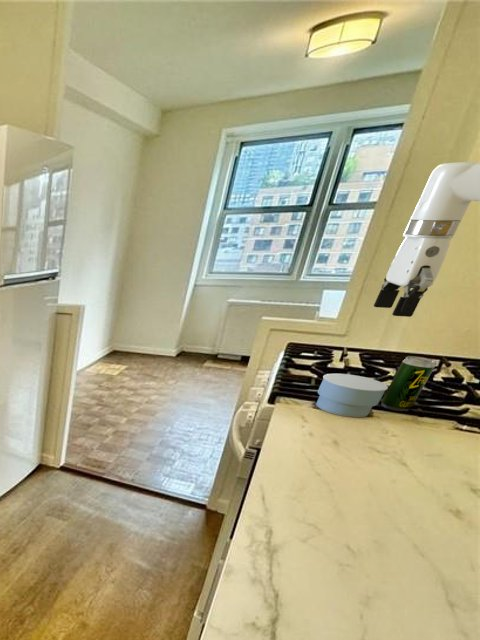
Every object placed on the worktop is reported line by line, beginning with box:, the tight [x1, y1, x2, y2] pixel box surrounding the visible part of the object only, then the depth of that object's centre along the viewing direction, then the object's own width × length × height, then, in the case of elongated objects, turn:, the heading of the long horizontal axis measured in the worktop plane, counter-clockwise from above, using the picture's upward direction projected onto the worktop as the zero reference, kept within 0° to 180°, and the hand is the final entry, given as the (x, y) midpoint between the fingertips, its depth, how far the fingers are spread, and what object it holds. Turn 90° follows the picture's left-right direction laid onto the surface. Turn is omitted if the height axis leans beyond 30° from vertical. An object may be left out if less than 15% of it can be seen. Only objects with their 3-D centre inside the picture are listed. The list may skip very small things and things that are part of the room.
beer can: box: [380, 355, 437, 412], centre depth 114 cm, size 5×5×12 cm
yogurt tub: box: [315, 373, 389, 418], centre depth 114 cm, size 11×11×7 cm
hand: (391, 311), depth 110 cm, fingers open, 9 cm apart
